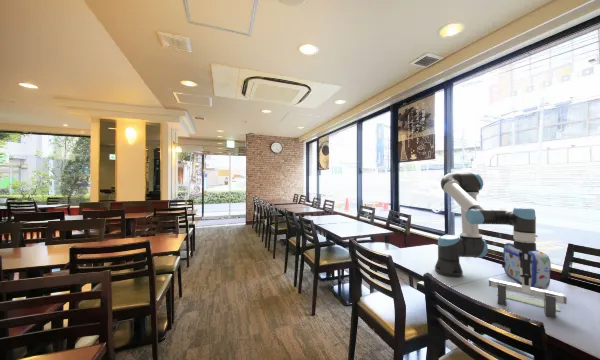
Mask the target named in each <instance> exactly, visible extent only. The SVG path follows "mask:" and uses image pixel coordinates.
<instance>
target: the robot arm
mask: <svg viewBox="0 0 600 360" xmlns="http://www.w3.org/2000/svg"><path fill="white" fill-rule="evenodd" d="M440 186H441V189H442V190H443V192H444V193H446V194H448V195H449V196H450V197H451V198H452V199H453V200H454V201H455V202H456V203H457V204H458V205H459V207H460V211H461V212H460V214H461V216H460V217H461V230H462V231H461V232H462V233H460V234H459V236H458V235H453V234H444V235H441V236H439V237H438V239H437V260H436V263H435V266H434V271H435V272H436V273H438V274H440V275H443V276H446V277H449V278H450V277H452V278H461V277H463V275H464V274H463V273H464V272H463V269H462V265H461V263H460V258H474V259H476V258H484V257H485V256H486V255H487V253H488V250H489V247H488V243H487V241H486V240H485V239H483V236H482V235H481V234H480V232H479V231H480V230H479V225H501V226H502V225H506V226H512V227H513V230H512V231H513V232H512V234H513V237H512V238H513V243H514V248H515V249H518V250H520V252H519V259H520V282H522V284H521V285H522V291H523V292H527V293H531V272H530V264H531V255H530V254H529V251H536V250H537V243H536V242H537V238H538V237H539V235H538V234H536V233H537V232H536V231H537V229H536V227H537V223H536V222H537V215H536V211H535V209H534V208H531V207H519V206H517V207H514V208H512V209H513V210H512V209H508V208H498V209H490V208H489V209H487V208H486V209H485V208H484V207H482V206H481V204H480V203H478V199H477V196H479V195H478V194H480V191H481V190H482V189H483V187H484V179H483V178H482V176H481V175H480V174H478V173H476V172H449V173H447V174H445V175H444V176H443V177H442V178H441V180H440ZM520 282H519V283H520Z"/></svg>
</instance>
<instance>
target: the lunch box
mask: <svg viewBox="0 0 600 360" xmlns="http://www.w3.org/2000/svg"><path fill="white" fill-rule="evenodd" d="M519 252H520V250H518V249H515V248H514V242H506V243H504V245H503V261H502V264H501V267H502V268H503V269H504V270H503V271H504V272H505V274H506V275H507V276H508V277H510V278H511V279H513V280H515V281H516V282H517V283H519V284H520V285H522V282H520V259H519ZM529 254H530V255H531V264H530V272H531V287H533V288H537V289H542V290H547V289H548V288H549V287H550V284H551V283H550V282H551V267H552V265H551V264H552V263H551V258H550V257H549V256H548V254H546V253H545V252H543V251H540V250H538V249H536V251H529Z"/></svg>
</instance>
